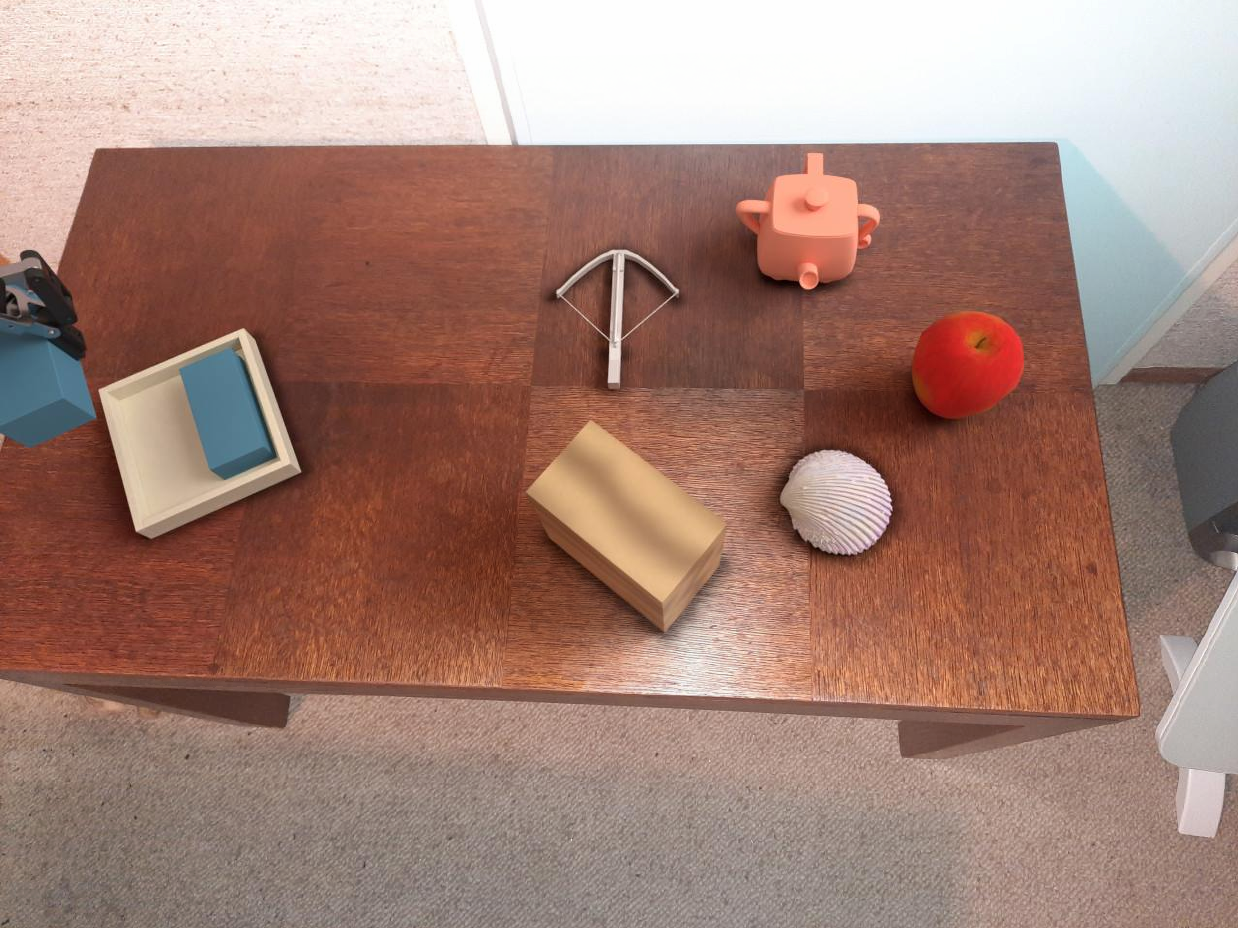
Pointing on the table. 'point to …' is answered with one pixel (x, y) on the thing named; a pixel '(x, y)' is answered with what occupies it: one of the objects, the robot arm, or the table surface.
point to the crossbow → (616, 303)
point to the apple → (966, 364)
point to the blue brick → (227, 414)
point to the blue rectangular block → (40, 388)
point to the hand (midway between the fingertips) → (43, 365)
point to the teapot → (809, 226)
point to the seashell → (837, 502)
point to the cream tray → (184, 441)
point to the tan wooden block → (628, 524)
